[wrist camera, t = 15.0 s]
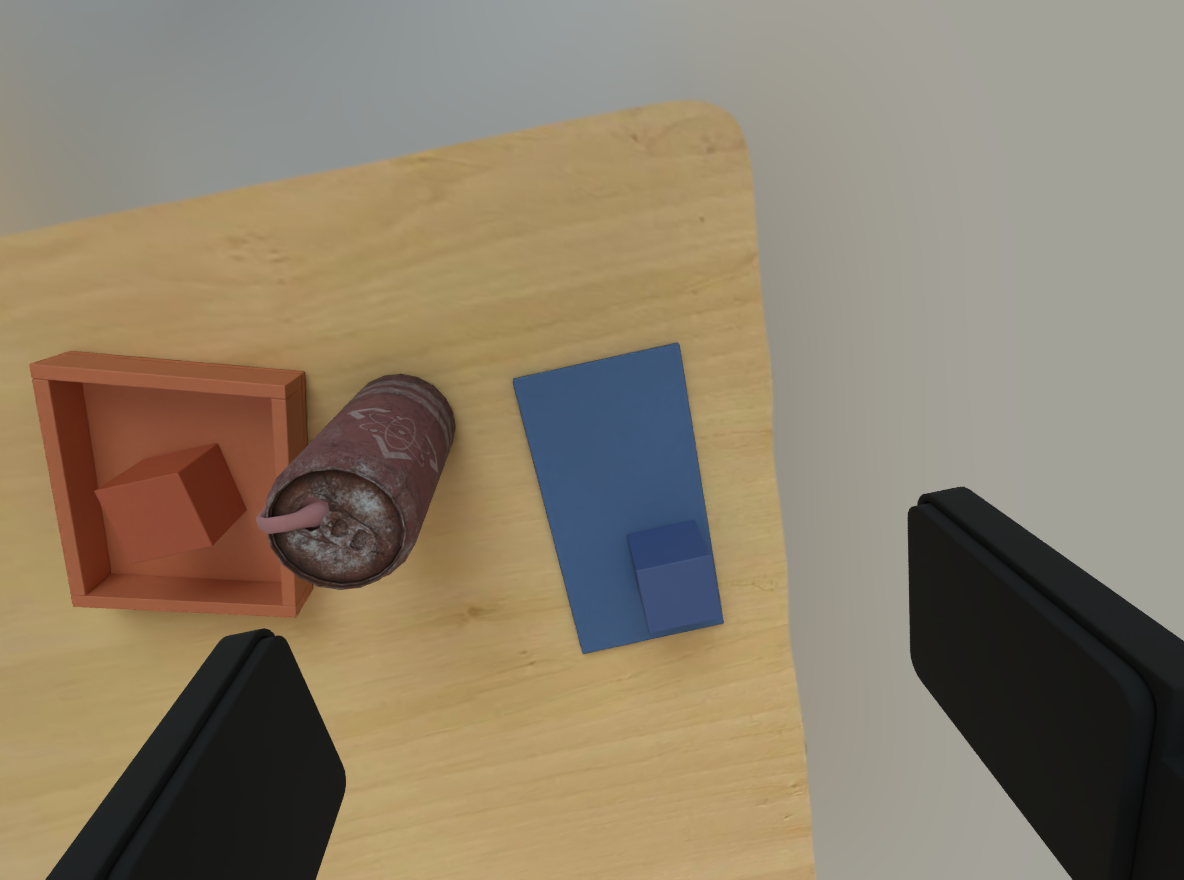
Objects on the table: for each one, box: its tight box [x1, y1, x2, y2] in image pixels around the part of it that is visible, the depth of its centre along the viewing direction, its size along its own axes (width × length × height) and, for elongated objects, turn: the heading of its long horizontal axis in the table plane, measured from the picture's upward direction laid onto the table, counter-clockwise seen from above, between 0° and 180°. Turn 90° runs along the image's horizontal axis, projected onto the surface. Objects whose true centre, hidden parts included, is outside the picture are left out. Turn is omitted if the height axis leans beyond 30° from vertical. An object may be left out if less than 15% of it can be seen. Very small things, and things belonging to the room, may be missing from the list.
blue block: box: [627, 520, 721, 633], centre depth 41 cm, size 4×4×4 cm
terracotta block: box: [94, 443, 247, 564], centre depth 37 cm, size 4×4×4 cm
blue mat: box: [513, 343, 724, 654], centre depth 42 cm, size 20×10×1 cm, turn 12°
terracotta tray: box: [29, 351, 313, 617], centre depth 38 cm, size 15×13×3 cm
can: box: [256, 374, 455, 590], centre depth 32 cm, size 6×6×14 cm
